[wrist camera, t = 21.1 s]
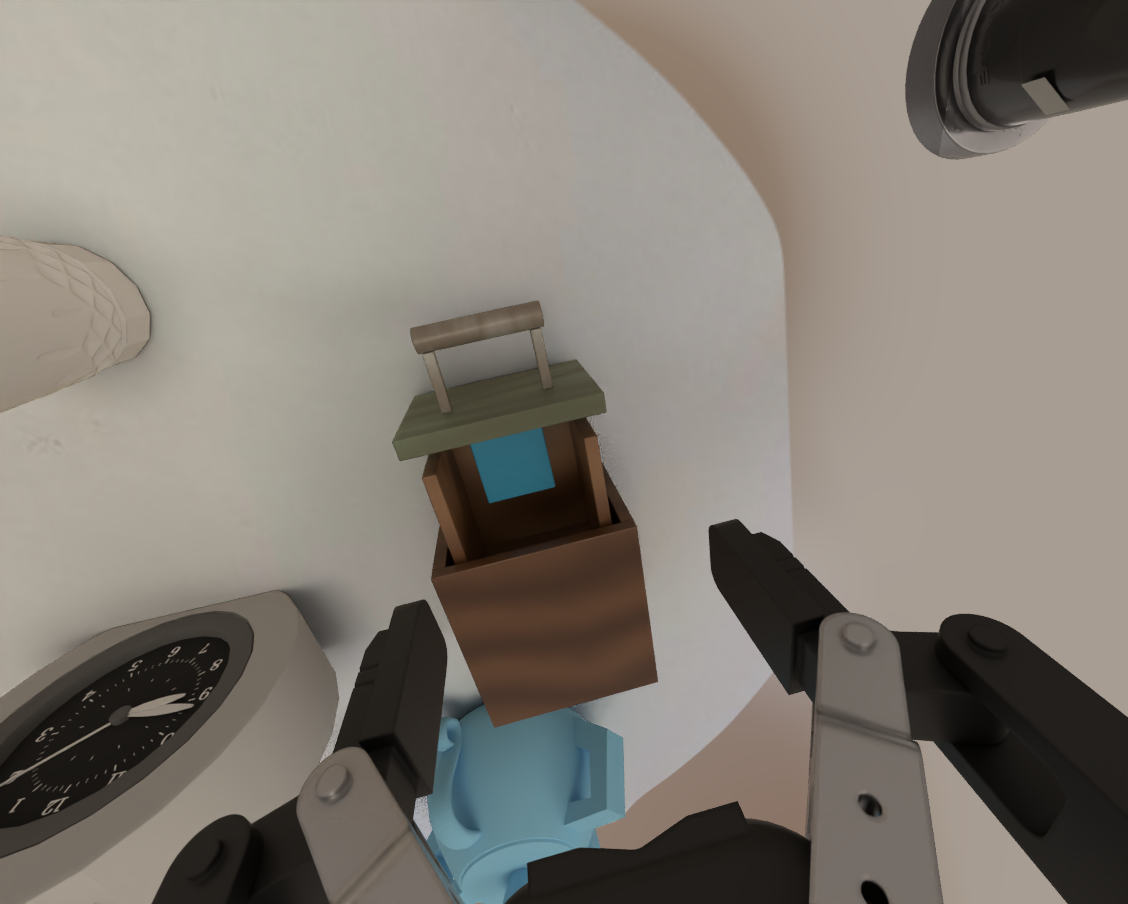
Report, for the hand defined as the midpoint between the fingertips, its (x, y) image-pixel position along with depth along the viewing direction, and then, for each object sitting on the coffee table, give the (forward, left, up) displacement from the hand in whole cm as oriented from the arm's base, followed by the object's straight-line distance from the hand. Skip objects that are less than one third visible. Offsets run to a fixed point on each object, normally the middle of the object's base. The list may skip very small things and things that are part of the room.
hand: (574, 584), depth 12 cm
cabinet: (+2, +15, -21) cm, 26 cm away
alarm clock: (+30, +16, -21) cm, 40 cm away
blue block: (+2, +3, -19) cm, 20 cm away
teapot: (+10, +40, -21) cm, 46 cm away
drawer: (+2, +4, -20) cm, 21 cm away
